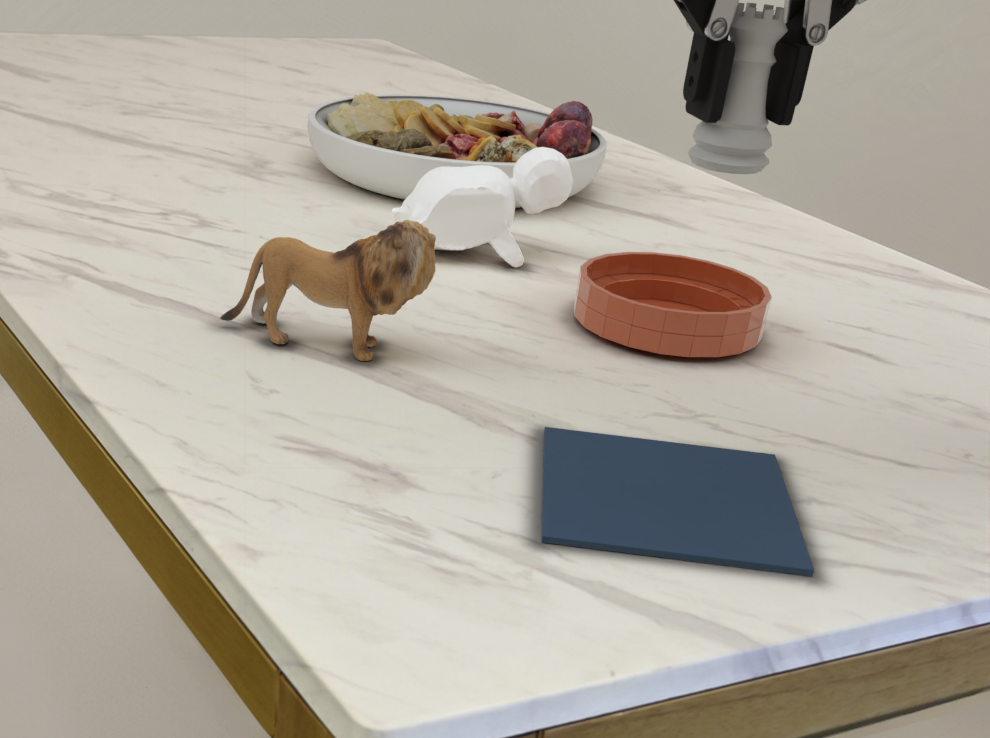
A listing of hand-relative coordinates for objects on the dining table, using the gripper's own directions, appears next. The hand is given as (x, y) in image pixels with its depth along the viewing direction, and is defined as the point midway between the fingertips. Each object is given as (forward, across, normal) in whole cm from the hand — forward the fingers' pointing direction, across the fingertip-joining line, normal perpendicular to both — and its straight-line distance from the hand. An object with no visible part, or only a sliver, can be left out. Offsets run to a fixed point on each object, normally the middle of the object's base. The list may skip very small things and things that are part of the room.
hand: (737, 115), depth 68 cm
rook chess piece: (+3, 0, 0) cm, 3 cm away
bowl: (+19, +2, +62) cm, 65 cm away
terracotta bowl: (+19, +8, +19) cm, 28 cm away
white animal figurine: (+19, -2, +37) cm, 42 cm away
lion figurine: (+19, -18, +16) cm, 31 cm away
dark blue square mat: (+19, -3, -8) cm, 21 cm away
